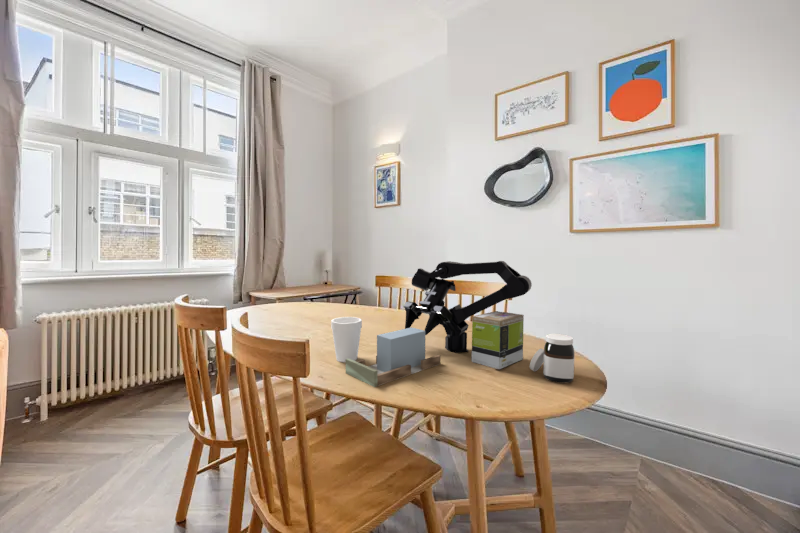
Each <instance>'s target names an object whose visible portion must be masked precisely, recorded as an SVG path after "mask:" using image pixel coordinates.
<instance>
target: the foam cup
mask: <svg viewBox="0 0 800 533" xmlns="http://www.w3.org/2000/svg"><path fill="white" fill-rule="evenodd" d="M362 320H363V319H361V318H360V317H356V316H340V317H335V318H333V319H331V320H330V327H331V330H332V331H331V332H332V338H333V345H334V346H333V347H334V350H335V351H334V352H335V359H336V361H337V362H339V363H346V359H348V358H349V359H351V360H354V361H357V359H358V357H359V356H358V355H359V347H360V340H361V332H362V331H361V330H362V327H363V321H362Z"/></svg>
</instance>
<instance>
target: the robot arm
mask: <svg viewBox="0 0 800 533" xmlns="http://www.w3.org/2000/svg"><path fill="white" fill-rule="evenodd" d="M416 270H417V271H416V272H415V273H414V275H413V276H412V278H411V286H413V287H415V288H418V289H420V290H423V291H425V293H424V294H425V298H424V299H423V300H420V301H419V302H418V303H419V304H417V303H416V302H415V301H406V302H405V303H404V305H403V308H404V310H405V321H404V322H405V323H404V329H406V328H411V327H412V325H413V324H414V322H415V320H419V319H420V317H421V316H422V314H425V315H426V314H427V315H428V316H429V317H428V320H427V322H426V325H425V327H424V331H425V336H427V335H428V334H429V333H431V332H432V330H434V329H435V328H436V327H438V326H439V325H441V326H442V327H443V328H444V331H445V333H446V336H445V344H444V349H446V350H447V351H448V352H452V353H455V354H457V353H459V354H460V353H468V352H469V351H470V350H469V349H468V348H467V345H468V344H467V343H468V332H466V331H467V330H468V328H469V324H468V323H467V322H466V320H467V319H468V318H470V317H473V316H475V315H476V314H478V313H480V312H482V311H484V310H486V309H488V308H491V307H492V306H493V307H494V305H495V306H496V305H497V304H499V303H501V302H503V301H506V300H509V299H513V298H517V297H521V296H524V295H525V294H527V293H528V292H529V291H530V290H531V289H532V285H533V284H532V281H531V279H530V278H529V277H528V276H526V275H521V274H520V273H519V272H518V271H517V270H515V269H514V268H512V267H511V266H510V265H509V264H508V263H507V262H505V261H504V260H498V261H488V262H474V263H473V262H472V263H471V262H469V263H463V262H457V261H448V260H447V261H442V262H439V263H438V264H437V265H436V267H435V269H434V270H433V271H431V272H429V271H428V270H425V269H423V268H421V267H420V268H417V269H416ZM483 274H484V275H487V274H496V275H498V276H499V277H500V278H501V280H503V282H504V283H505V285H504V286H502V287H501V288H500V289H498V290H496V291H494V292H492V293H490V294H488V295H486V296H484V297H482V298H480V299H478V300H476V301H474V302H472V303H470V304H468V305H466V306H463V307H461V304H457V305H454V306H453V307H452V308H451V307H450V308H449V309H448V308H447V306H446V305H445V303H446V302H445V301H444V299H445V298H446V296H447V294H448V292H449V290H451V291H454V292H456V290H457V289H456V284H455V281H454V280H451V281H449V280H447V279H450V278H453V277H459V276H463V275H483ZM428 290H429V291H428ZM419 305H420V306H419Z"/></svg>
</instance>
